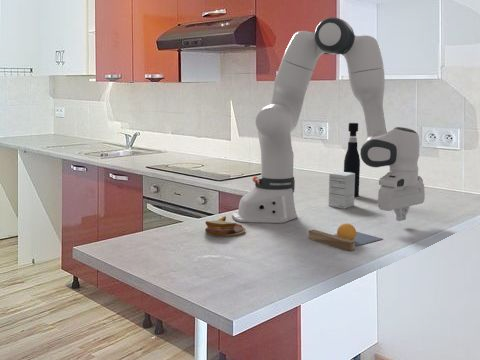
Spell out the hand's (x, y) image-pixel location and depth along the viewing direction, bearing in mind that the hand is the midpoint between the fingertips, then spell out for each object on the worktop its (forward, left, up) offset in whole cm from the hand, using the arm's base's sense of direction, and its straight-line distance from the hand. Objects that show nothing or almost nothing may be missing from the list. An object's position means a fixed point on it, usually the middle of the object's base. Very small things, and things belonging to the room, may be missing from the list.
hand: (401, 220), depth 180 cm
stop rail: (-29, -17, -2) cm, 33 cm away
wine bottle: (+1, +50, -2) cm, 50 cm away
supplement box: (-9, +32, -2) cm, 34 cm away
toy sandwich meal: (-57, 0, -3) cm, 58 cm away
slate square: (-20, -12, -2) cm, 23 cm away
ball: (-23, -15, +1) cm, 28 cm away
